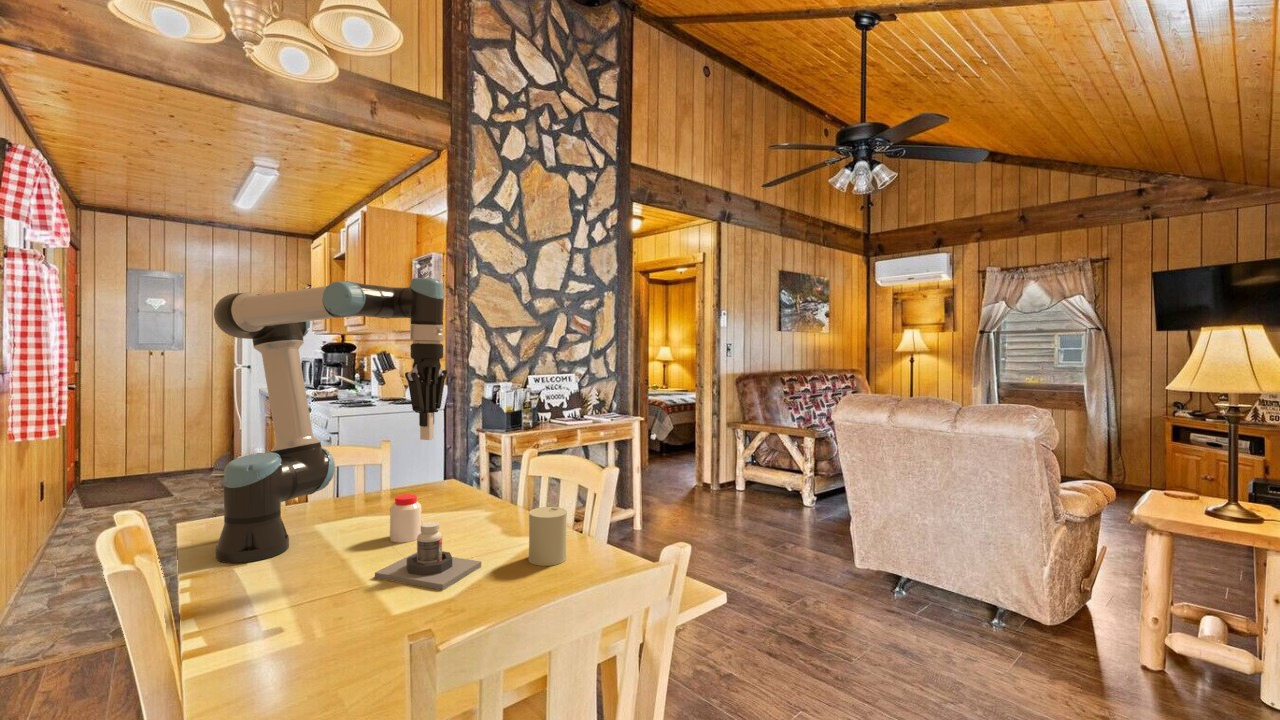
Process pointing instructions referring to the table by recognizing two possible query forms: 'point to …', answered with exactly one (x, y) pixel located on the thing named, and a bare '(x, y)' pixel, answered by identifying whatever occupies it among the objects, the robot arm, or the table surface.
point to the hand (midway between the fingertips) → (426, 439)
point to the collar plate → (429, 579)
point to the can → (547, 536)
